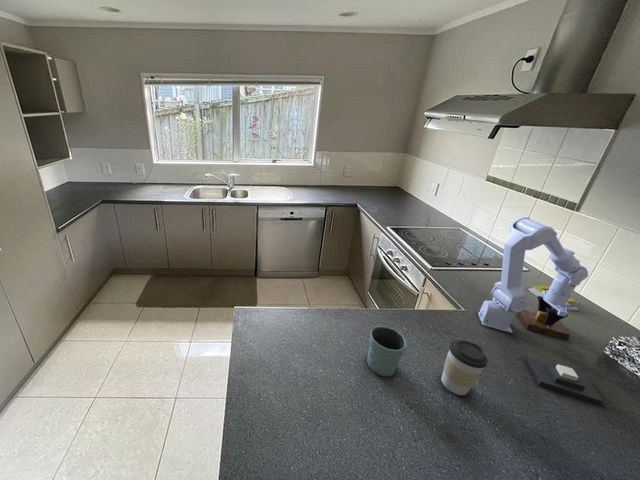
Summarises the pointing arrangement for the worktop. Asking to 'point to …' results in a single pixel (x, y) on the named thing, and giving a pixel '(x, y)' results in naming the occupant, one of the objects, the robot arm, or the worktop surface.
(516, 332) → the worktop surface
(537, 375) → the dark grey base plate
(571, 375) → the white square block
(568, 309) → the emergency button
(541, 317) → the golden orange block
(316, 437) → the worktop surface
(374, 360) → the teal cup
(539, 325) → the brown flat block
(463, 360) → the coffee cup
